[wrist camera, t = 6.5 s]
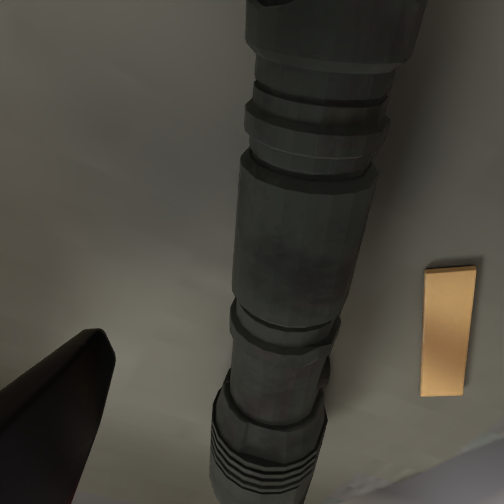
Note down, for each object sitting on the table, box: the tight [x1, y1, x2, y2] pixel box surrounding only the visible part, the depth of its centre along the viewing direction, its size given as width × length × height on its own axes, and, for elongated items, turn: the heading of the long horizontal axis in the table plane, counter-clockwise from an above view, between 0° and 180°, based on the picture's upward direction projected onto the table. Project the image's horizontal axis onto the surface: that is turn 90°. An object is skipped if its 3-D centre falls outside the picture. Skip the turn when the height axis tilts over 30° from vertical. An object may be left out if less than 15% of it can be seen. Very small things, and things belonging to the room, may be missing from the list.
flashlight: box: [209, 0, 427, 504], centre depth 16 cm, size 5×21×5 cm, turn 176°
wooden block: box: [420, 266, 477, 396], centre depth 18 cm, size 7×2×1 cm, turn 10°
